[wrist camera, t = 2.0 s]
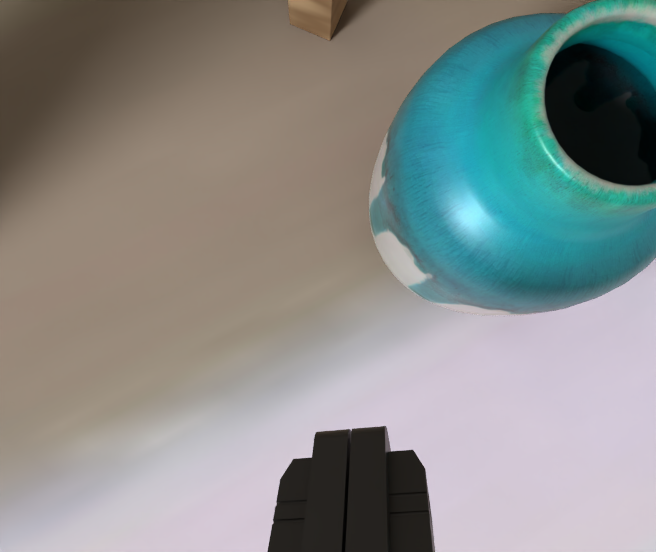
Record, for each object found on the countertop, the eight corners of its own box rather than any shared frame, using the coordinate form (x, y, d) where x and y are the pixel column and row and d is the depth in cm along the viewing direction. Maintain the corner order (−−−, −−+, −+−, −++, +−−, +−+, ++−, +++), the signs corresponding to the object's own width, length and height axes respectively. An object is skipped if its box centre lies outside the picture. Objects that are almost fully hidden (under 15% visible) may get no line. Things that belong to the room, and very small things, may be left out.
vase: (460, 94, 34) (647, -194, 15) (582, 233, 33) (937, 123, 14) (320, 211, 33) (326, 69, 14) (443, 354, 33) (619, 409, 14)
